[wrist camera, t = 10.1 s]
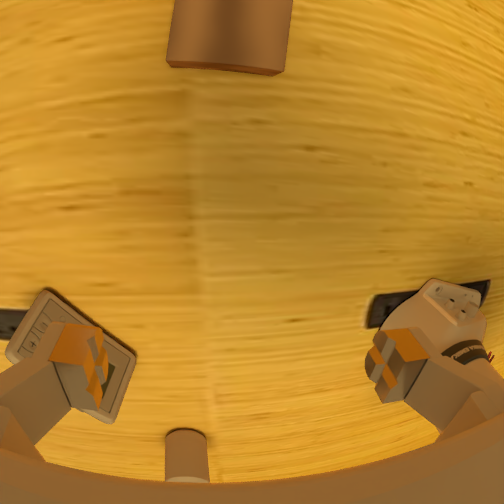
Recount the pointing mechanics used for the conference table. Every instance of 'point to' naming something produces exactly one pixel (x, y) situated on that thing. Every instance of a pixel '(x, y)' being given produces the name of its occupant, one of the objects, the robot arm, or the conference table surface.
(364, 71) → the conference table surface
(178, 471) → the can
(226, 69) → the block
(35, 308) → the digital clock
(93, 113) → the conference table surface
